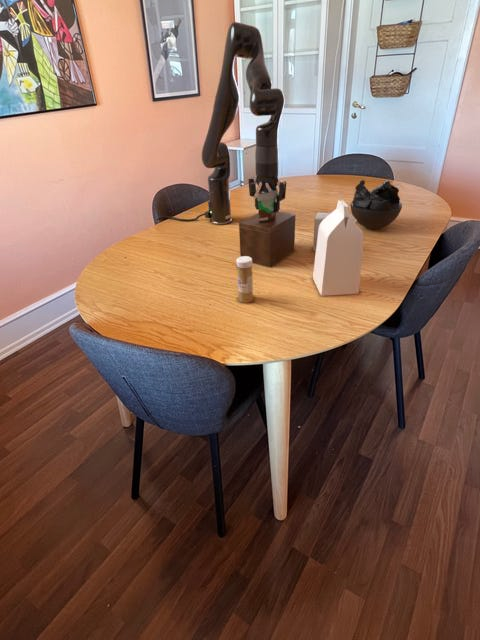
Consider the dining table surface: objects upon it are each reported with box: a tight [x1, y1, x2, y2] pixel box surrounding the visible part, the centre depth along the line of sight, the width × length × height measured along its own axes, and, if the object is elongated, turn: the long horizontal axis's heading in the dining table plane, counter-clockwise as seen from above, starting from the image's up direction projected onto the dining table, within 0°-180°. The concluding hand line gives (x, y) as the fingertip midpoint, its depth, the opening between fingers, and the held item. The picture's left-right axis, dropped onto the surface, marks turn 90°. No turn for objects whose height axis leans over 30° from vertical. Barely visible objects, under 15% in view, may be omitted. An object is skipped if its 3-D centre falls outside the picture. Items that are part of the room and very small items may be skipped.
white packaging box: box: [312, 212, 332, 252], centre depth 142 cm, size 7×7×13 cm
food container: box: [257, 190, 278, 223], centre depth 132 cm, size 12×6×10 cm, turn 168°
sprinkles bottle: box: [236, 256, 254, 303], centre depth 113 cm, size 5×5×13 cm
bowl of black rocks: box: [350, 179, 403, 230], centre depth 156 cm, size 20×20×19 cm
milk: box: [312, 199, 365, 297], centre depth 114 cm, size 12×12×26 cm
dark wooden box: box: [238, 210, 296, 268], centre depth 139 cm, size 13×17×14 cm
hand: (267, 210), depth 134 cm, fingers open, 6 cm apart
